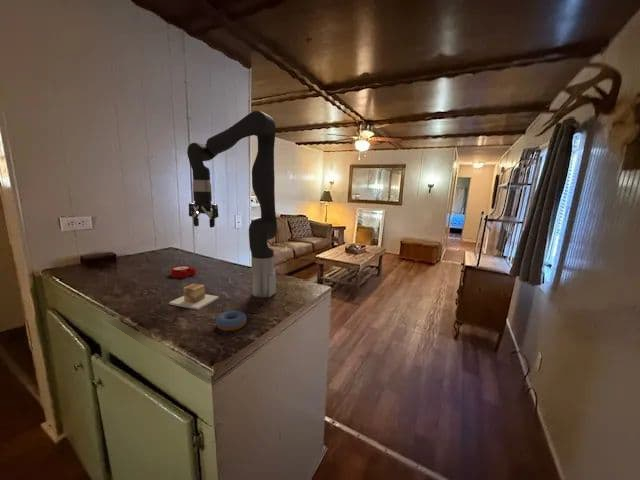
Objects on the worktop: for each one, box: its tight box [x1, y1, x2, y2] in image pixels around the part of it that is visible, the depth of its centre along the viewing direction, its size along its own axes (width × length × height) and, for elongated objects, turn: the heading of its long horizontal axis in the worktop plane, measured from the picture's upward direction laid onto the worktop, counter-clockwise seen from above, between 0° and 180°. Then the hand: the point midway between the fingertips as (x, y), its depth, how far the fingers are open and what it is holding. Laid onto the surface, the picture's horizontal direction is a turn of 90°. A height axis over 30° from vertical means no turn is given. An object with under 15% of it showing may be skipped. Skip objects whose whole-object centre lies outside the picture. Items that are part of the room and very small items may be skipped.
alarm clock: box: [167, 264, 197, 279], centre depth 144 cm, size 10×6×15 cm
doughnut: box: [215, 310, 247, 332], centre depth 93 cm, size 10×10×5 cm
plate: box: [168, 293, 220, 311], centre depth 112 cm, size 14×12×1 cm
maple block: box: [183, 283, 206, 303], centre depth 112 cm, size 6×6×6 cm
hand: (204, 226), depth 125 cm, fingers open, 8 cm apart
